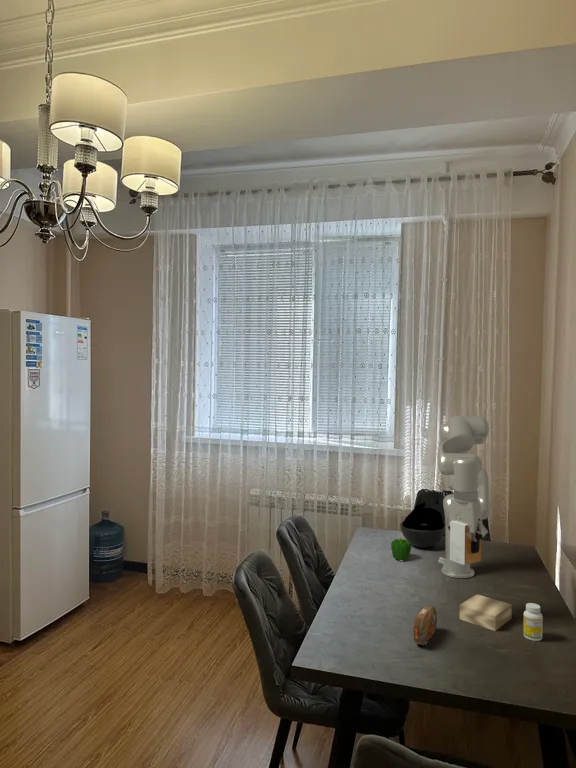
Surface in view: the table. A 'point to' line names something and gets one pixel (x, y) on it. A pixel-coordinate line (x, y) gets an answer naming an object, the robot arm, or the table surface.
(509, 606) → the birch block
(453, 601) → the table surface
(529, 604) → the supplement bottle
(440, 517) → the coal bowl
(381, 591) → the table surface
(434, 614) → the tin
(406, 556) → the bell pepper
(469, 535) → the small box
